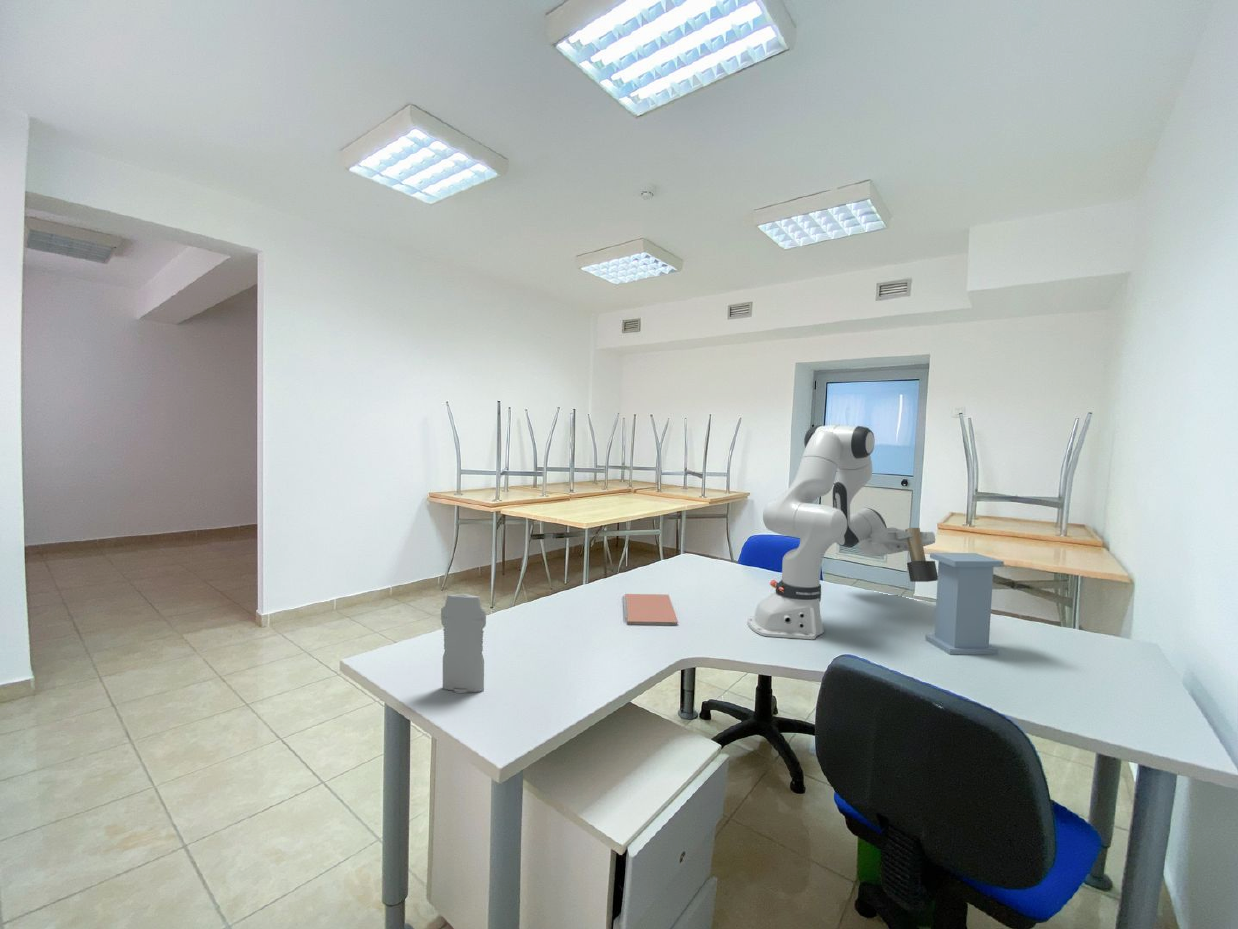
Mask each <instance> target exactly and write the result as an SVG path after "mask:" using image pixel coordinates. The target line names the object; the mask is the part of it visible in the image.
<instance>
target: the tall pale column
mask: <svg viewBox="0 0 1238 929" xmlns="http://www.w3.org/2000/svg"><path fill="white" fill-rule="evenodd" d="M440 620H441V625H442V626H443V629H442V630H443V650H444V652H443V654H442V655H443V656H442V690H444V689H445V690H446V691H450V690H451V692H455V693H456V694H465V693H481V692H484V691H485V658H484V655H483V651H484V650H483V649H484V646H483V644H484V632H485V631H484V630H483V629H484V628H485V627H486V624H487V610H485V609H484V608H483V606H482V601H481V597H480V596H478V595H472V594H467V593H457V594H447V596H446V600H445V603H444V606H443V607H442V608H441V609H440Z"/></svg>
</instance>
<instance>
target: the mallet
mask: <svg viewBox="0 0 1238 929" xmlns="http://www.w3.org/2000/svg"><path fill="white" fill-rule="evenodd" d="M904 530H905V531H906V532H912V535H913V537H911V538H907V542H908V547H909V550H908V553H909V558H910V561H909V562H907V563H906V565H907V566H906V567H907V570H908V576H909V582H912V583H915V582H916V583H917V582H918V583H920V582H921V583H923V582H924V583H929V582H936V581H938V568H937V565H936V560H927V559H926V554H925V549H924V548H925V547H924V546H923V543H922V538H921V533H920V532H921V529H920V527H909V528H906V529H904Z"/></svg>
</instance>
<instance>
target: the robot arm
mask: <svg viewBox="0 0 1238 929" xmlns="http://www.w3.org/2000/svg"><path fill="white" fill-rule="evenodd" d="M875 440H876V439H875V435H874V432H873V431H872V430H871V429H870V428H869V427H866V426H861V425H858V426H857V425H856V426H855V425H854V426H853V425H843V424H842V425H840V424H828V425H820V424H819V425H815V426H811V427H810V428H809V429H807V431H806V433H805V435H804V442H803V443H804V450H803V453H802V456H801V459H800V463H799V466H798V470H797V472H796V475H795V477H794V479H793V481H792V483H791V485H790V486H789V487H788V488H787V489H786V491H785V492H784V493H782V495H781V496H779V497H778V498H776V499H774V500H772V501H770V502H768V503H767V504H766V506H765V507H764V510H763V513H762V520H763V524H764V526H765V528H766V529H767V530H768V531H770V532H773V533H775V534H777V535H780V536H781V535H782V536H786V537H793V538H798V539H800V540H799V545H798V547H797V548H792V549H791V550H788V551H787V552H786V553H785V554H784V556H783V557H782V565H781V579H780V580H779V581H778V582H777V581H776V580H775V579H773V580H771V581H770V583H769V585H770V587H772V588H774V589H775V592H774V593H772V594H770V595H769V596H768V597H766V598H764V599H763V600H762V601H760V602H758V603H757V606H756V609H755V613H754V616H749V617H748V618H747V625H748V627H749V628H751V630H752V631H753V632H755V633H756V634H758V635H761V636H764V637H775V638H786V639H787V638H789V639H800V640H801V639H804V640H815V639H816V638H817V636H819V635H822V634H823V633H824V631H825V630H824V626H823V623H822V616H821V605H820V604H821V599H822V585H821V571H822V564H823V558H824V557H825V554H826V553H827V551H828V549H829V548H830V547H832V545H833V544H835V543H836V544H837V545H839V546H842V547H844V548H849V549H850V548H851V549H852V548H854V547H855V546H857V545H858V549H859V551H860V552H861V553H862V554H864V555H866V556H868V557H884V556H887V555H892V554H898V553H902V552H907V551H908V552H909V547H908V542H907V538H911V537H913V535H912V532H906V531H905V529H900V528H897V527H888V528H887V525H886V521H885V519H884V518H883V515H881V514H880V513H879V512H878V511H877V510H875V509H873V508H871V507H870V508H869V507H862V508H861V509H859V510H857V511H855V512H853V513H852V514H851V504H852V500H853V498H854V497H855V496H856V495H857V494H858V493H859V491H861V489H862V488H863V487H865V486H866V484H868V483H869V481H870V480H871V479H872V476H873V463H872V462H873V461H872V458H871V457H872V456H871V454H872V453H873V451H874V448H875V443H876V441H875ZM835 479H836V480H835ZM831 490H832V506H830V505H827V504H819V503H813V502H814V501H816V500H818V499H819V498H821V497H823V496H826V495H827V494H829V493H830V492H831ZM920 533H921V538H922V543H923V547H926V546H929V545H932V544H935V543H936V535H935V533H934V532H933V531H920Z"/></svg>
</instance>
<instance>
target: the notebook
mask: <svg viewBox="0 0 1238 929" xmlns="http://www.w3.org/2000/svg"><path fill="white" fill-rule="evenodd" d="M621 600H622V602H621V603H622V617H623V621H625V619H626V625H630V626H678V623H679V620H678V618H677V614H676V612H675V609H674V607H673V603H672V600H671V597H670V595H669V594H659V593H657V594H654V593H653V594H652V593H649V594H648V593H640V594H639V593H625V594H624V595H622V597H621Z"/></svg>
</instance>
